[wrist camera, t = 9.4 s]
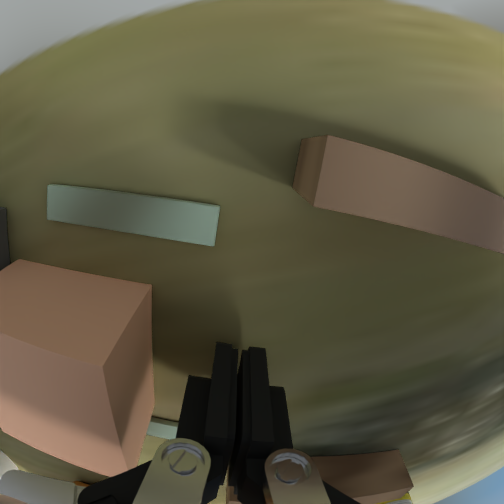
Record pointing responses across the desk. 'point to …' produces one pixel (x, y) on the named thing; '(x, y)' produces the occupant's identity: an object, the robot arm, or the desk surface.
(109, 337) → the push block
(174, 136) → the desk surface
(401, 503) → the supplement bottle
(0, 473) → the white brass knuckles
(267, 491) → the robot arm
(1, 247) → the grey shallow tray
